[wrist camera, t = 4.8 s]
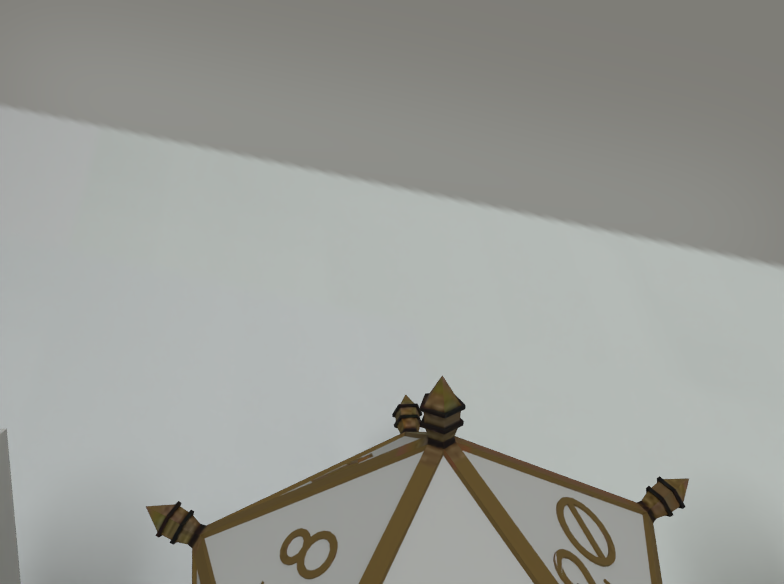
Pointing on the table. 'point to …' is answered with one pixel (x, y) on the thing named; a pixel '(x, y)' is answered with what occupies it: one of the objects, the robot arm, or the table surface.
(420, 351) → the table surface
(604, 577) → the game die
